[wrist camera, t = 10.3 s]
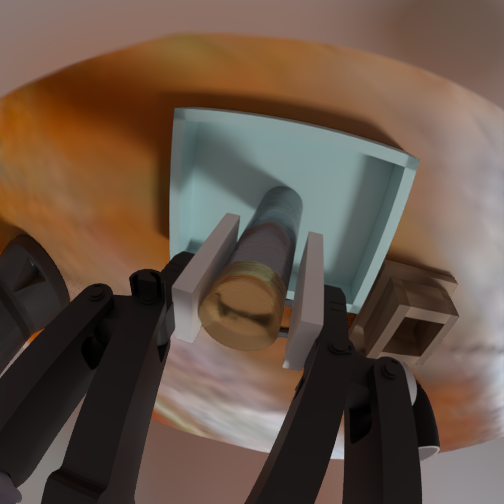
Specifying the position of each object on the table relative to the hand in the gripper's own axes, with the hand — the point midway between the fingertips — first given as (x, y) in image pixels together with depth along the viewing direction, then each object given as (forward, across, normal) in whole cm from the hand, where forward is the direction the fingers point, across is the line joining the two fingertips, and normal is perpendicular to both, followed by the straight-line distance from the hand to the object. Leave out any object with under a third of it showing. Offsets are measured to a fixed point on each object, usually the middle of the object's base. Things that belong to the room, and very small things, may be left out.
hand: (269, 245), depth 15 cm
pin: (+6, 0, 0) cm, 6 cm away
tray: (+7, 0, 0) cm, 7 cm away
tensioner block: (+7, +13, -8) cm, 17 cm away
